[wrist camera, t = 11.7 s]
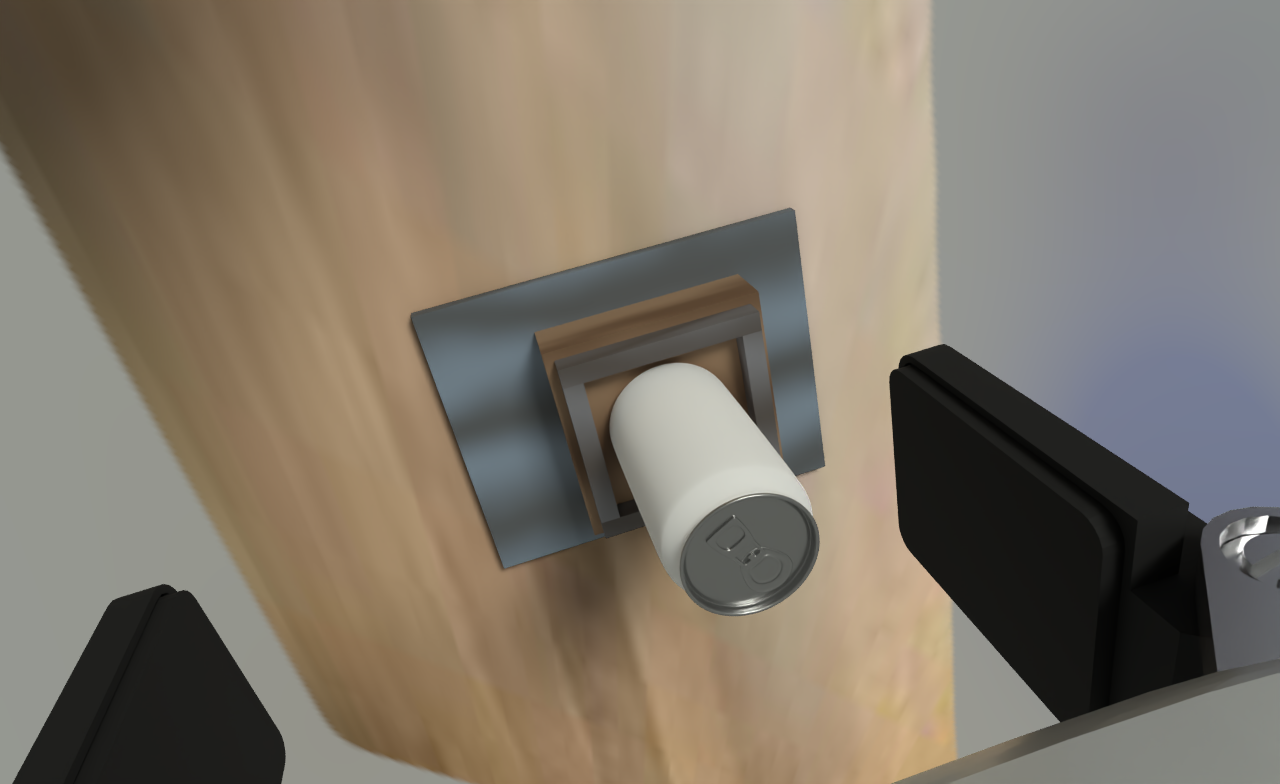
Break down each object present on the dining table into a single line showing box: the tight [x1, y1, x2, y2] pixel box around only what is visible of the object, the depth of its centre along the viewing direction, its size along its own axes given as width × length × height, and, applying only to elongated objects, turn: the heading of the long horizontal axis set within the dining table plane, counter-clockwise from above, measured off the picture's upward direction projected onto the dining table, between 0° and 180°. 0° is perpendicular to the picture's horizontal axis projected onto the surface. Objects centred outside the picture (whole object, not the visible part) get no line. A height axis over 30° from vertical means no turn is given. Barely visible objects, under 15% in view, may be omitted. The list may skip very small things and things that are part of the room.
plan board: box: [411, 208, 825, 568], centre depth 42 cm, size 16×20×5 cm
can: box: [609, 363, 820, 616], centre depth 36 cm, size 6×6×12 cm
